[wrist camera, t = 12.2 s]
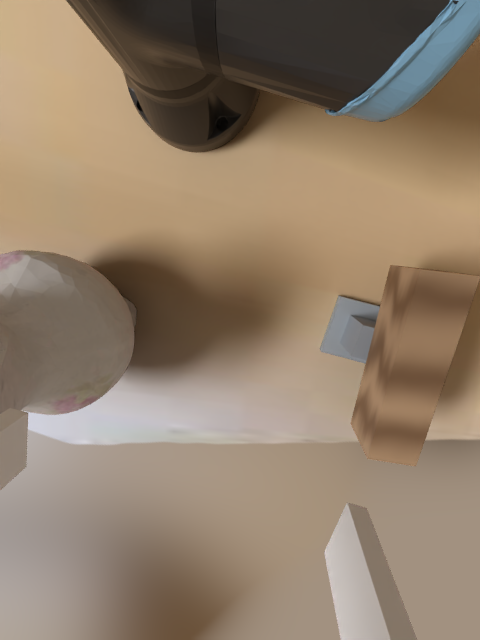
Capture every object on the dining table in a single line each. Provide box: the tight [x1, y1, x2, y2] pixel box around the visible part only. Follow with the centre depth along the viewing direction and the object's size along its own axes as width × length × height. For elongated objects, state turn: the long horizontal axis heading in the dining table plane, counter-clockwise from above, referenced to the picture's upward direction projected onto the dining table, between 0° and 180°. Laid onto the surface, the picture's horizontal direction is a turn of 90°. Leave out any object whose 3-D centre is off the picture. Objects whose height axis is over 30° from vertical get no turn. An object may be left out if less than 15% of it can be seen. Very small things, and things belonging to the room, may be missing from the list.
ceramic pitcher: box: [0, 251, 137, 415], centre depth 30 cm, size 22×20×25 cm
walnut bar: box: [351, 265, 480, 466], centre depth 29 cm, size 20×5×6 cm, turn 174°
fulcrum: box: [320, 296, 380, 363], centre depth 35 cm, size 8×14×6 cm, turn 76°
